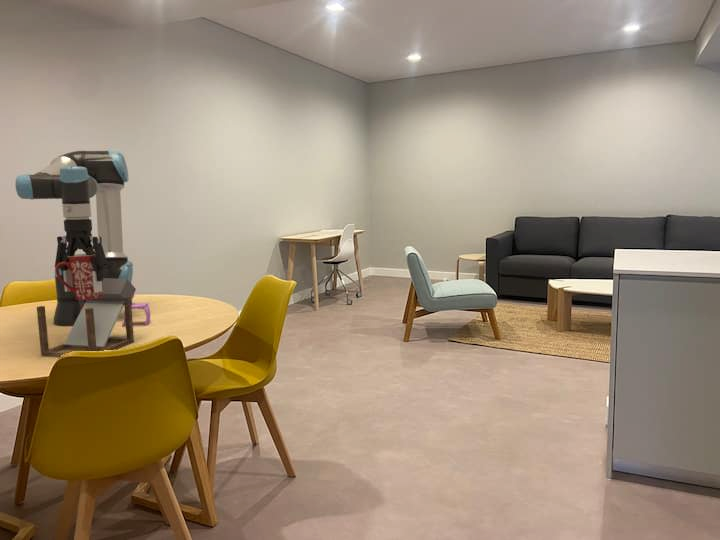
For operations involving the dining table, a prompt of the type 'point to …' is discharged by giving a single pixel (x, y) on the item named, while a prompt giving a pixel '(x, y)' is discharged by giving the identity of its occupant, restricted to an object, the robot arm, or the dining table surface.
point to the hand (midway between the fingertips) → (83, 291)
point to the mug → (80, 276)
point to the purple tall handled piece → (140, 306)
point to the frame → (90, 331)
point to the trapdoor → (101, 312)
